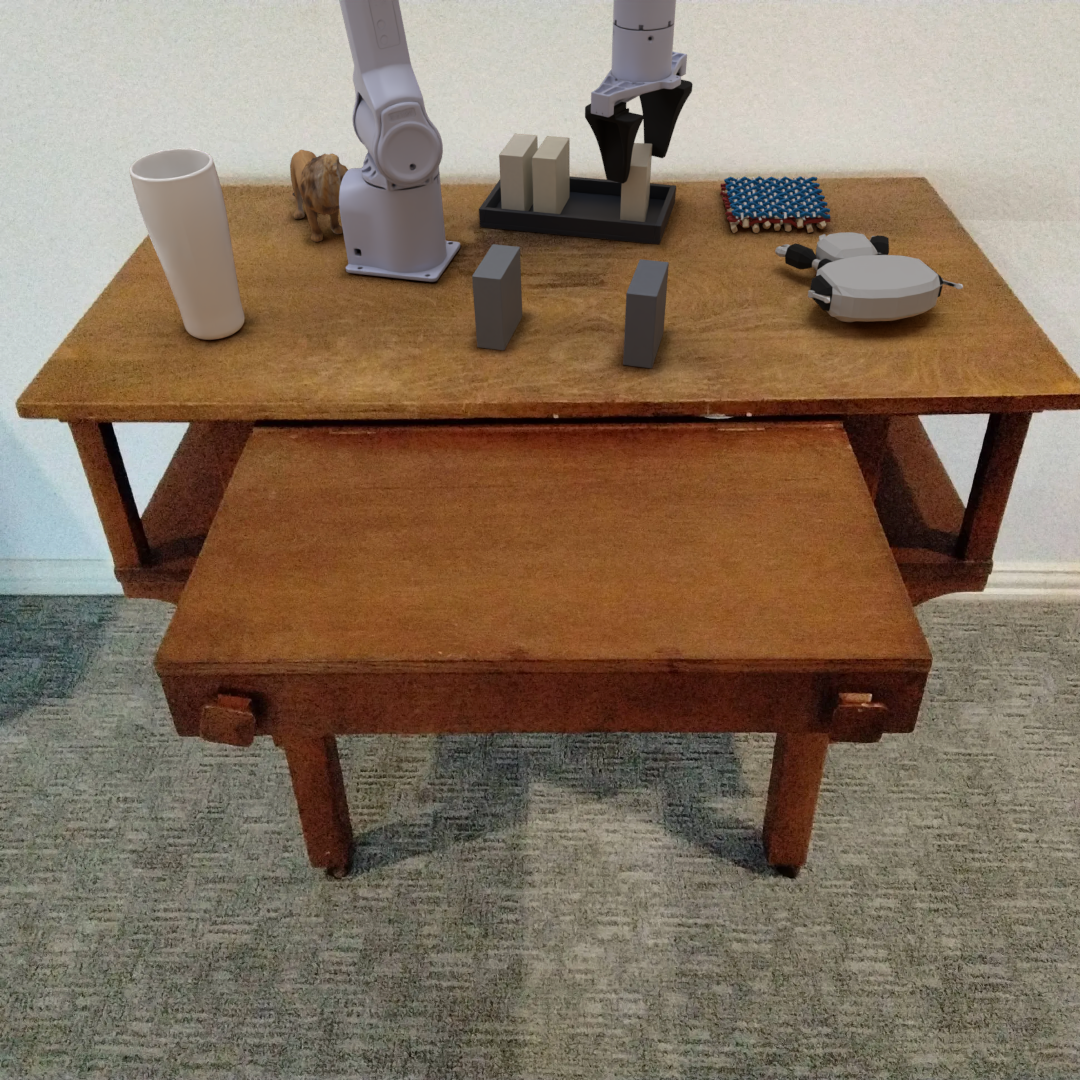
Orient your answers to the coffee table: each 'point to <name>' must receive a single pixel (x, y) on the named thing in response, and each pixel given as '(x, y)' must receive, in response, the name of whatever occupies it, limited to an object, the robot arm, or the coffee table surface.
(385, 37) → the robot arm
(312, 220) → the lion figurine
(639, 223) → the tray
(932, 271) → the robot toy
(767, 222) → the woven mat
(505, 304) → the grey books
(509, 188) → the cream books on tray
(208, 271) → the drinking glass
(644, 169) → the cream rectangular block
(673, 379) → the coffee table surface
